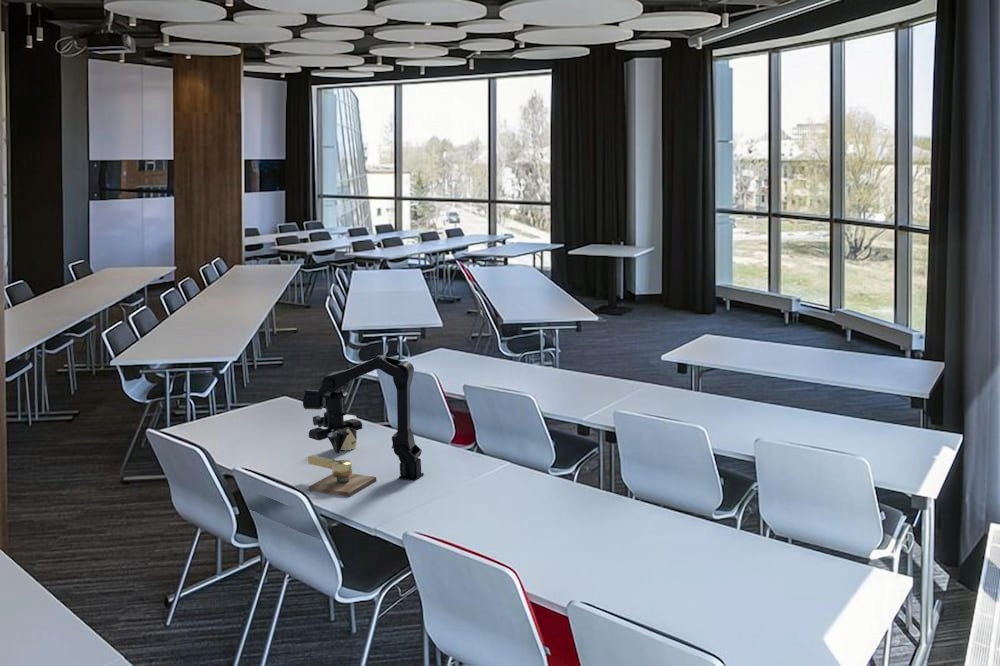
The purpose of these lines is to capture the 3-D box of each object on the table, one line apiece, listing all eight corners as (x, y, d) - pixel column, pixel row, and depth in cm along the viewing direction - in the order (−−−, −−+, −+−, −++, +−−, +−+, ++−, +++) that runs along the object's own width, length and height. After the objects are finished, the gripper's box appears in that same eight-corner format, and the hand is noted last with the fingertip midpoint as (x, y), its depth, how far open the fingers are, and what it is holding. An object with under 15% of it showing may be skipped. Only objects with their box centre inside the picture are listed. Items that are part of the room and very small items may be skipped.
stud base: (376, 481, 311) (375, 470, 310) (349, 496, 296) (349, 485, 296) (336, 475, 317) (336, 465, 317) (308, 490, 303) (308, 480, 302)
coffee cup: (356, 451, 344) (354, 420, 342) (331, 452, 344) (329, 421, 342) (360, 444, 353) (358, 414, 351) (336, 444, 353) (334, 414, 351)
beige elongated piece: (356, 473, 307) (355, 461, 306) (342, 478, 302) (341, 467, 301) (317, 464, 317) (317, 453, 316) (303, 469, 312) (303, 458, 311)
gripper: (343, 400, 327) (345, 442, 329) (298, 411, 313) (301, 455, 316) (362, 405, 319) (364, 448, 322) (316, 416, 306) (319, 461, 309)
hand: (337, 453), depth 317 cm, fingers closed
